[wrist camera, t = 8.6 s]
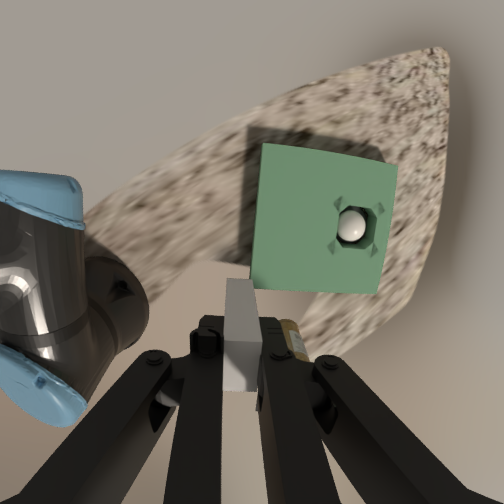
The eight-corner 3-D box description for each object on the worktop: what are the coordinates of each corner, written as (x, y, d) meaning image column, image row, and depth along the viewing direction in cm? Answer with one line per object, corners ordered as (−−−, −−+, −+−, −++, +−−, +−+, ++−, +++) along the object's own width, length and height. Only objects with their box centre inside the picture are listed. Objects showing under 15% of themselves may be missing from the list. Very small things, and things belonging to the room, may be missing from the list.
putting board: (249, 279, 39) (249, 288, 36) (261, 145, 34) (263, 142, 31) (368, 286, 40) (376, 293, 37) (387, 165, 35) (397, 165, 32)
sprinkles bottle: (265, 324, 41) (274, 385, 28) (294, 313, 40) (314, 371, 27) (275, 347, 42) (286, 409, 29) (302, 337, 42) (323, 396, 29)
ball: (359, 239, 37) (332, 235, 38) (363, 211, 36) (335, 207, 36) (365, 246, 33) (335, 241, 34) (370, 214, 32) (339, 209, 33)
